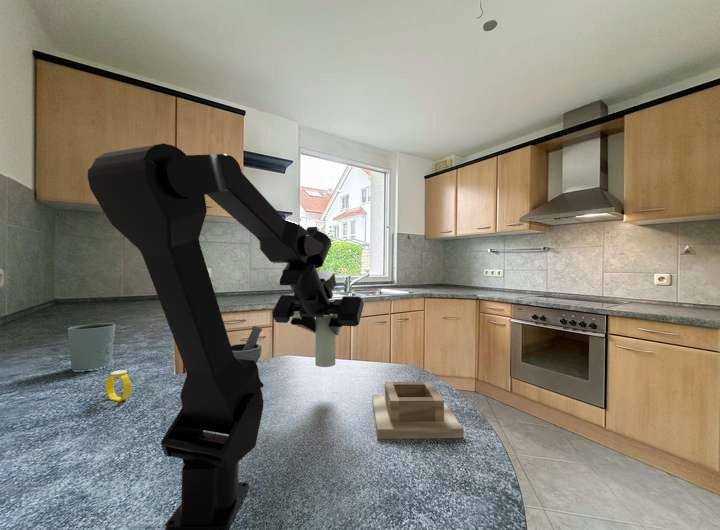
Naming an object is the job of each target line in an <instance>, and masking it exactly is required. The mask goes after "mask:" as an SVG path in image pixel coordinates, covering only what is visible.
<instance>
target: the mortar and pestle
mask: <svg viewBox="0 0 720 530" xmlns="http://www.w3.org/2000/svg"><path fill="white" fill-rule="evenodd" d="M262 331H263V330H262V328H261V327H260V326H256V325H254V326H252V327H251V331H250V334H249V336H248V338H247V340H246V342H245V343H238V344H237V343H236V344H235V343H234V344H232V345H231V344H230V345H231V348H232V352H233V354H234V356H235V357H236V358H237V359H246V360H254V361H255V363H256V364H257V363H258V362H259V360H260V357H261V354H262V345H261V344H258V339H259V336H260V333H262Z"/></svg>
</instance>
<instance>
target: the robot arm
mask: <svg viewBox="0 0 720 530" xmlns="http://www.w3.org/2000/svg"><path fill="white" fill-rule="evenodd" d="M87 181H88V184H89V188H90V190H91V193H92V194H93V196H94V198H95V200H96V201H97V203H98V204H99V206H100V208H101V209H102V211H103V213H104V214H105V215H106V217H107V220H108V221H109V222H110V224H111V225H112V226H113V227H114V228H115V229H116V230H117V231H118V232H119V233H120V234H122V235H123V236H124V237H125V238H126V240H128V241H129V242H130V243H131V244H132V245H134V246H135V247H136V249H138V251H139V252H140V254H141V256H142V258H143V260H144V263H145V266H146V269H147V272H148V274H149V276H150V279H151V282H152V284H153V287H154V290H155V292H156V295H157V297H158V300H159V302H160V305H161V306H160V307H161V309H162V311H163V314H164V316H165V318H166V320H167V324H168V327H169V329H170V332H171V335H172V336H173V339H174V343H175V345H176V347H177V350H178V353H179V355H180V359H181V360H182V364H183V366H184V369H185V371H186V375H185V379H184V381H183V384H182V388H181V389H180V390H181V391H180V395H179V396H180V402H181V409H180V410H179V412H178V414H177V415H176V417H175V418H174V420H173V421H172V423H171V425H170V427H169V428H168V429H167V431H166V433H165V434H164V435H163V438H162V439H161V442H160V445H161V448H162V451H163V453H164V456H165V457H168V458H177V459H182V468H181V491H180V492H181V493H180V494H181V495H180V496H181V497H180V499H181V501H180V504H179V506H178V507H177V508H176V510H174V512H173V514H172V515H171V516H170V517H169V518H168V520H167V521H166V523H165V530H227V529H228V528H229V527H230V526H231V523H232V522H233V520H234V517H235V516H236V514H237V512H238V510H239V508H240V506H241V503H242V502H243V500H244V498H245V496H246V494H247V492H248V490H249V488H250V485H249V482H247V481H245V482H244V481H242V482H241V481H239V469H240V468H239V464H240V463H239V462H240V461H241V460H242V459H243V458H245V456H247V455H248V454H249V453H250V452H251V451H252V450H253V449H255V448H256V445H257V439H258V435H259V431H260V426H261V425H260V424H261V420H262V415H263V412H264V411H263V410H264V397H263V392H262V388H264V383H263V382H262V381H261V378H260V374H259V367H258V365H257V363H255V361H254V360H246V359H237V358H236V357H235V356H234V354H233V352H232V348H231V342H230V339H229V336H228V332H227V330H226V329H227V328H226V326H225V323H224V322H225V321H224V319H223V316H222V312H221V310H220V309H221V308H220V305H219V303H218V299H217V295H216V293H215V290H214V286H213V284H212V280H211V277H210V273H209V271H208V267H207V263H206V261H205V260H206V259H205V257H204V254H203V253H204V252H203V249H202V248H201V247H202V246H201V244H200V235H201V232H202V230H203V229H202V228H203V225H204V223H205V219H206V215H207V211H208V210H207V203H206V196H208V197H209V199H211V200H212V201H214V202H215V203H216V204H217V205H218V206H219V207H220V208H221V209H223V210H224V211H225V212H227V214H229V215H230V216H231V217H232V218H233V219H235V220H236V221H237V222H238V223H239V224H240V225H242V227H244V228H245V229H246V230H247V231H248V232H250V233H251V234H252V235H254V237H256V239H257V240H258V241H259V250H260V251H261V252H262V253H263V255H264V256H265V257H266V259H268V261H270V262H271V263H273V264H286V265H285V267H284V269H282V275H281V276H280V278H279V286H289V287H290V289H291V291H292V292H293V294H281V295H280V296H279V298H278V299H277V302H276V304H275V306H274V307H273V309H272V311H271V314H272V315H271V316H272V318H273V319H274V321H275V323H280V324H282V323H283V324H284V323H285V324H287V323H289V321H290V324H291V325H292V326H296V327H299V328H302V329H304V330H307V331H309V332H310V333H311V332H312V333H314V334H316V317H323V316H330V315H331V316H332V317H331V320H330V322H329V325H328V326H329V327H330V329H331V330H332V331H333V332H334V334H336V336H339V333H340V329H341V328H342V327H357V326H358V325H359V324H360V321H361V317H362V313H363V309H364V301H363V298H362V297H361V296H352V295H350V296H348V295H345V296H342V298H341V299H335V300H334V301H330V300H332V299H333V296H334V293H333V292H332V291H333V290H334V288H335V287H336V286H337V281H336V276H335V275H336V274H335V272H334V271H330V270H329V271H325V270H324V271H323V270H322V271H320V270H319V271H318V270H317V269H319V268H321V267H323V266H324V263H325V260H326V258H327V256H328V253H329V252H330V248H331V247H332V240H331V238H330V237H329V236H328V235H327V234H326V233H324V232H323V231H320V230H319V229H318V226H308V227H307V228H305V227H303V226H302V225H300V223H296V222H295V221H291V220H288V219H286V218H284V216H282V215H281V214H280V213H279V212H278V211H277V210H276V209H275V207H274V206H273V205H272V204H271V202H269V201H268V200H267V198H266V197H265V196H264V195H263V194H262V193H261V192H260V191H259V190H258V189H257V187H256V186H255V185H254V184H253V182H251V180H249V178H247V176H246V175H245V174H244V173H243V172H242V168H241V166H240V164H239V162H238V160H237V159H236V158H235V157H234V156H232V155H230V154H229V155H228V154H226V153H217V154H190V155H189V154H186V153H185V152H184V151H183V150H181V149H180V148H178V147H176V146H174V145H173V144H168V143H159V144H153V145H145V146H141V147H134V148H128V149H120V150H115V151H109V152H104V153H102V154H101V155H99V156H98V157H96V158H95V160H94V161H93V163H92V164H91V167H89V168H88V169H87ZM205 195H206V196H205Z"/></svg>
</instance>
